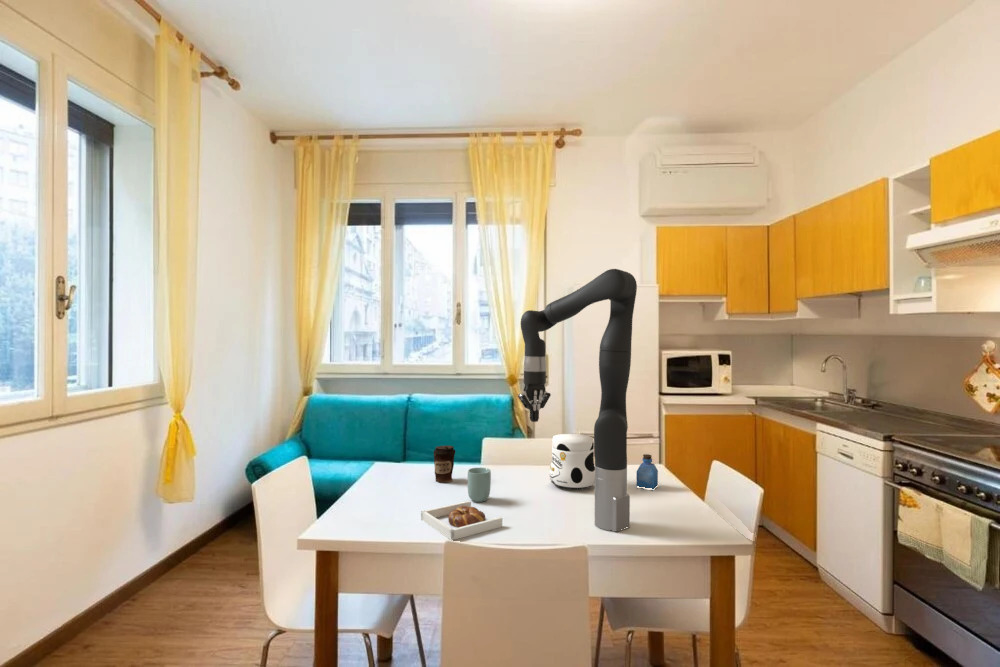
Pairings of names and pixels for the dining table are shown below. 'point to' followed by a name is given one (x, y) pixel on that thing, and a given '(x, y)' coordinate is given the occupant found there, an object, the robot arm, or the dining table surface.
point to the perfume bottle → (647, 473)
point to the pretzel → (465, 516)
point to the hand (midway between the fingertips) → (534, 421)
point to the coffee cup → (444, 463)
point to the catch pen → (460, 532)
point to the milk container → (572, 461)
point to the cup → (479, 484)
